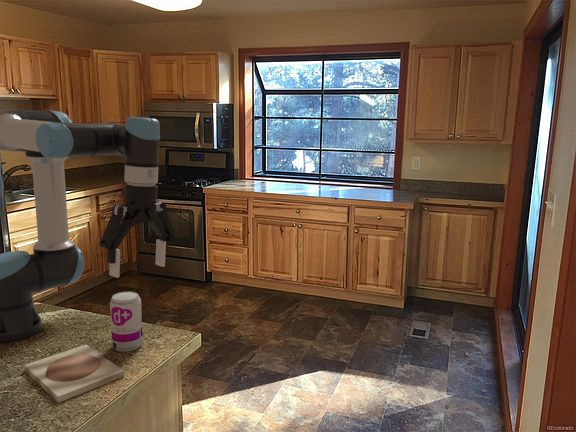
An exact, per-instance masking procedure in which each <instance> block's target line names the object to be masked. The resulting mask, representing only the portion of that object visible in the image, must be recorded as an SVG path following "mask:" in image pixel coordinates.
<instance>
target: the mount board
mask: <svg viewBox="0 0 576 432" xmlns="http://www.w3.org/2000/svg"><path fill="white" fill-rule="evenodd" d="M24 371H25V372H26V373H27V374H28V375H29V376H30V377H31V378H32V379H33V380H34V381H35V382H36V384H38V385H40V386H41V388H43V390H44V391H46V392H47V393H48V395H50V396H51V397H52V398H53V399H54V400H55V402H57V403H58V404H59V403H61V402H63V401H66V400H69V399H71V398H74V397H76V396H78V395H81V394H83V393H86V392H88V391H91V390H93V389H95V388H98V387H101V386H104V385H105V384H108V383H111V382H113V381H115V380H118V379H120V378H122V377H124V376H125V375H124V370H123V369H121V368H120V367H119V366H118V365H116V364H114V362H112V361H110V360H109V359H107V358H106V357H105V356H103V355H102V354H101V353H99V352H98V351H96V350H95V349H94V348H92V347H91V346H89V345H88V344H84V345H80V346H78V347H74V348H71V349H69V350H65V351H62V352H59V353H57V354H53V355H51V356H48V357H45V358H40V359H38V360H35V361H32V362H30V363H26V364H24Z"/></svg>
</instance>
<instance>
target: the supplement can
mask: <svg viewBox="0 0 576 432" xmlns="http://www.w3.org/2000/svg"><path fill="white" fill-rule="evenodd" d="M109 309H110V311H109V312H110V327H111V328H110V331H111V347H112V348H113V349H114V350H115V351H116V352H117V351H118V352H121V353H127V352H132V351H135V350H137V349H139V348H140V347H141V346H142V344H143V324H142V323H143V322H142V319H143V318H142V299H141V297H140V296H139V293H137V292H135V291H121V292H118V293H115V294H113V295H112V297H111V299H110V301H109Z"/></svg>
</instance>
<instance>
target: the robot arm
mask: <svg viewBox="0 0 576 432" xmlns="http://www.w3.org/2000/svg"><path fill="white" fill-rule="evenodd" d="M160 130H161V129H160V121H159V120H158V119H156V118H150V117H149V118H148V117H141V116H140V117H138V116H128V117H127V118H126V122H125V124H124V123H118V122H104V123H101V122H100V123H98V122H97V123H96V122H95V123H93V122H92V123H79V122H74V123H73V122H72V120H71V119H70V117H69V115H67V114H66V113H64V112H62V111H58V110H57V111H56V110H50V109H47V110H45V109H44V110H37V109H36V110H35V109H34V110H33V109H28V110H27V109H6V110H5V109H4V110H0V150H1V151H2V150H3V151H6V152H7V151H8V152H25V153H24V154H25V158H26V159H27V160H29V162H31V165H32V166H31V167H32V169H31V170H32V178H33V179H32V181H33V182H32V183H33V193H34V206H35V218H36V229H37V230H36V231H37V241H36V242H35V243H34V244H33V246H32V251H33V252H32V253H29V252H28V251H26V250H15V251H13V250H12V251H6V252H3V253H0V343H9V342H14V341H15V342H16V341H20V340H23V339H27V338H29V337H32V336H34V335H36V334H37V333H38V332H40V331H41V330H42V327H43V325H42V318H41V316H40V314H39V312H38V310H37V308H36V305H35V304H34V297H33V296H34V295H33V294H35V293H39V292H43V291H47V290H51V289H54V288H59V287H65V286H68V285H70V284H73V283H76V282H77V281H78V280H79V279H80V278H81V277H82V276H83V275H82V274H83V272H84V266H85V265H84V257H83V252H82V251H81V249H80V248H79V247H78V246H75V242H74V241H73V240H71V239H70V237H69V235H70V234H69V221H68V220H69V219H68V207H67V192H66V189H67V187H66V175H65V161H66V160H67V159H68V158H71V157H74V158H75V157H87V156H88V157H95V156H99V157H100V156H124V161H125V162H124V178H123V179H124V183H126V184H125V185H123V186H124V187H123V188H124V189H123V192H124V194H123V198H124V202H125V204H124V205H123V206H121V205H113V207H112V209H111V210H112V212H111V216H110V218H109V220H108V223H107V225H106V228H105V230H104V232H103V235H102V237H101V239H100V242H99V244H98V245H99V246H100V247H101V248H104V249H106V250H107V251H106V257H107V258H106V261H107V263H109V272H108V273H109V276H110V277H113V278H116V279H117V278H120V275H121V273H120V268H121V266H120V265H121V262H120V261H121V249H118V248H119V246H120V245H121V244H122V242H123V240H124V239H125V237H127V235H128V233H129V231H130V230H131V228H133V227H135V225H136V224H137V225H140V224H142V223H146V224H147V223H148V225H149V227H150V228H151V229H152V230H153V231H154V233H155V234H156V236H157V237H158V239H156V241H155V243H156V244H155V266H158V267H161V268H163V267H164V268H165V267H166V253H167V252H168V244H169V243H168V242H171V240H172V238H174V237H175V232H174V230H173V226H172V223H171V221H170V218H169V215H168V212H167V204H166V202H163V201H157V200H158V190H159V188H158V186H157V185H156V184H158V182H159V161H160V143H161V142H160V141H161V140H160V139H161V134H160V133H161V132H160ZM155 212H156V215H157V216H156V215H155ZM158 220H159V221H158Z"/></svg>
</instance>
